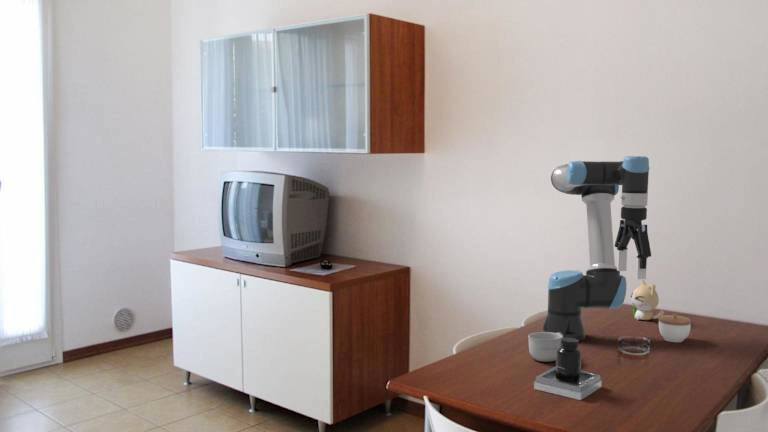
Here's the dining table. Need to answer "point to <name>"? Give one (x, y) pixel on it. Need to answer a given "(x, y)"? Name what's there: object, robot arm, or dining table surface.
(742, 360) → the dining table surface
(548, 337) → the teacup
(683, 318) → the lidded jar
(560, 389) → the shadow box frame
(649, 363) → the dining table surface
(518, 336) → the dining table surface
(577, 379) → the supplement bottle
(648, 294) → the kitten
